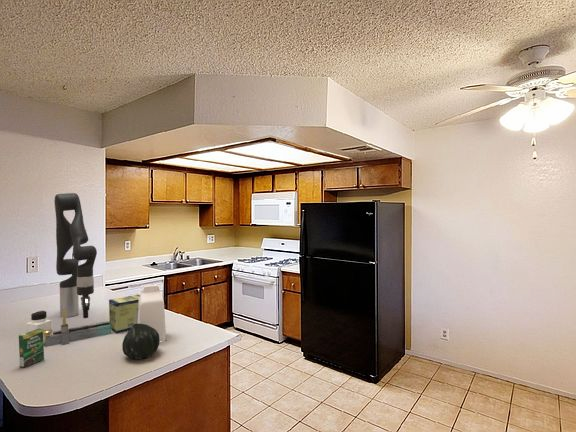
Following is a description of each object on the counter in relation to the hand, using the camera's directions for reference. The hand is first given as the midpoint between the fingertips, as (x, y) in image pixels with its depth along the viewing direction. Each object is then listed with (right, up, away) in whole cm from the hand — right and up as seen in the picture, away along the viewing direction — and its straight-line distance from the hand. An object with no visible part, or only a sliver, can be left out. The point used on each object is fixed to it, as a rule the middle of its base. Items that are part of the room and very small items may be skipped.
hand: (85, 317), depth 174 cm
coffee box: (0, -8, -37) cm, 38 cm away
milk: (+39, -7, -12) cm, 41 cm away
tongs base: (+2, -7, -10) cm, 13 cm away
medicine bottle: (-18, -7, -8) cm, 21 cm away
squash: (+42, -8, -29) cm, 52 cm away
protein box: (+20, -7, +4) cm, 22 cm away
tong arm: (+3, -6, -7) cm, 10 cm away
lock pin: (-4, -2, -10) cm, 11 cm away
